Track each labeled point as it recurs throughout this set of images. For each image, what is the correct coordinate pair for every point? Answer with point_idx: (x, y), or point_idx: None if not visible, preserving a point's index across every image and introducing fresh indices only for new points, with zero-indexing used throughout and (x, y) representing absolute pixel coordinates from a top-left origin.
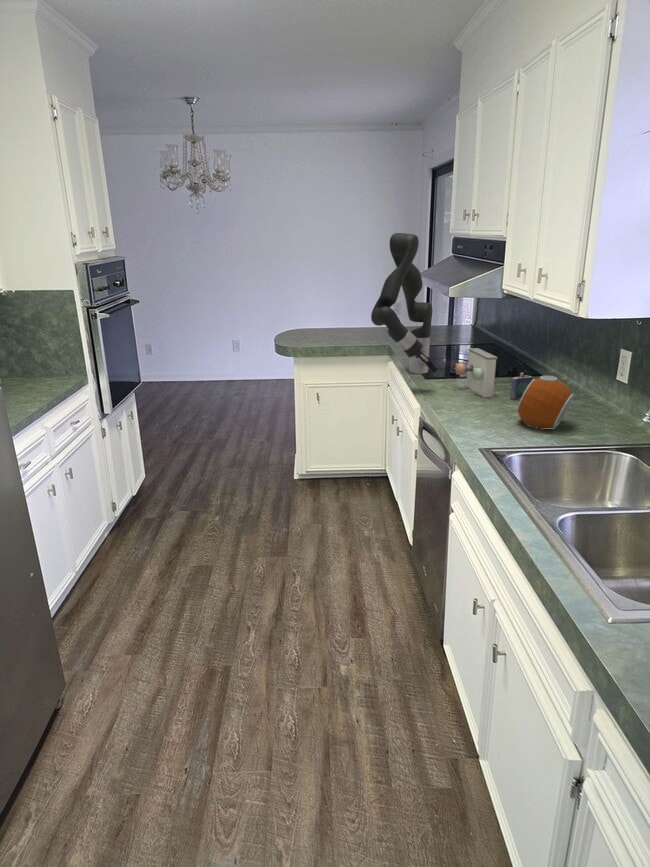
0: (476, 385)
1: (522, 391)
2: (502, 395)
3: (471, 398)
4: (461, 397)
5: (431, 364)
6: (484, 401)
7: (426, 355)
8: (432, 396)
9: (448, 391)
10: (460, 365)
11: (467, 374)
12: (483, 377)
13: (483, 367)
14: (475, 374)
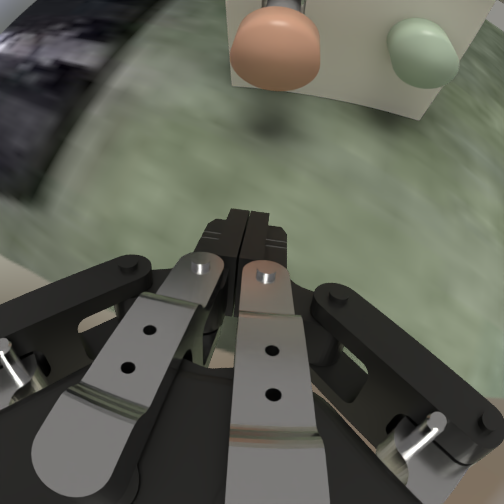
0: (352, 79)
1: None
2: None
3: (430, 170)
4: (413, 200)
5: (293, 287)
6: (466, 153)
7: (310, 412)
8: None
9: (294, 201)
10: (308, 33)
11: (231, 41)
12: None
13: (447, 19)
14: (435, 66)
